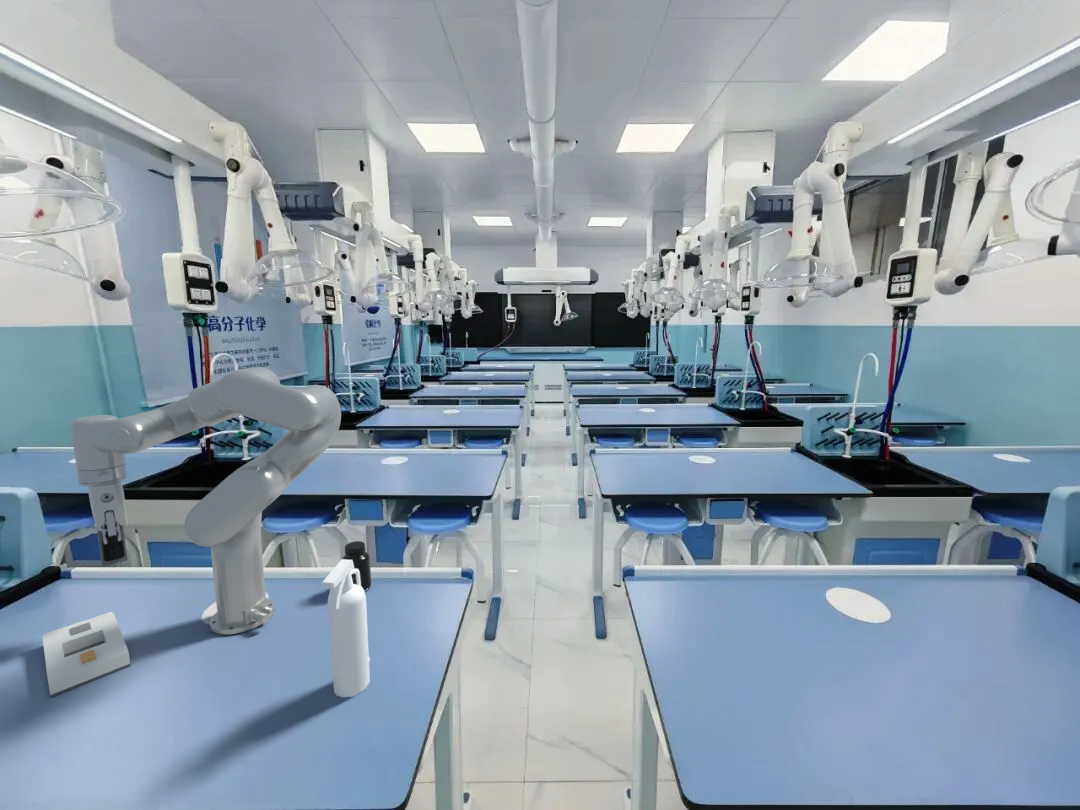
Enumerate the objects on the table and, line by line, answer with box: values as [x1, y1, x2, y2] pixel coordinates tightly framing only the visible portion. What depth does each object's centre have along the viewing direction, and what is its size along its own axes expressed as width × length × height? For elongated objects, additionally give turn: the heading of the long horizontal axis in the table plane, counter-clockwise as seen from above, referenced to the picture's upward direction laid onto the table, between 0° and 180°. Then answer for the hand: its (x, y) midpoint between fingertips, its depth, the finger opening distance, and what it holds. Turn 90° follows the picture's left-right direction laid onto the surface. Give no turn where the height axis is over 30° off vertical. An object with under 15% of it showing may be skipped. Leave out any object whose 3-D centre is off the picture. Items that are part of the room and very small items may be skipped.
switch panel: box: [41, 611, 131, 698], centre depth 95 cm, size 20×11×4 cm, turn 48°
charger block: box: [95, 524, 128, 567], centre depth 101 cm, size 4×4×8 cm
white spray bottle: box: [321, 558, 371, 697], centre depth 87 cm, size 7×12×25 cm, turn 173°
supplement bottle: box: [341, 540, 372, 590], centre depth 120 cm, size 7×7×12 cm
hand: (113, 554), depth 102 cm, fingers closed on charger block, 4 cm apart
